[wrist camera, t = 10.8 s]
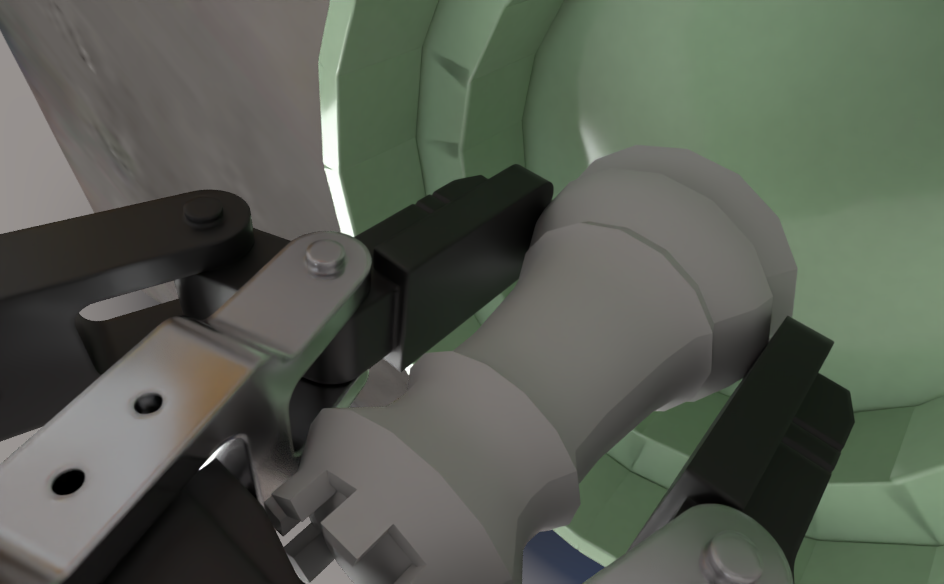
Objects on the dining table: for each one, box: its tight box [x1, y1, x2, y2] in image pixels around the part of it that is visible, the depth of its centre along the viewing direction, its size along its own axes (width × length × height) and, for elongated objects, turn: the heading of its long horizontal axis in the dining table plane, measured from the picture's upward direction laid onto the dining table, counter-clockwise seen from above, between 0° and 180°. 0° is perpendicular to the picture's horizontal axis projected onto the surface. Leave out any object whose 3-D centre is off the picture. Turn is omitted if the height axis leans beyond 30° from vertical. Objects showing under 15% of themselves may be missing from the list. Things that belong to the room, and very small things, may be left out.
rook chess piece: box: [264, 145, 798, 584], centre depth 9 cm, size 4×4×8 cm
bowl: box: [318, 0, 944, 584], centre depth 12 cm, size 15×15×6 cm
